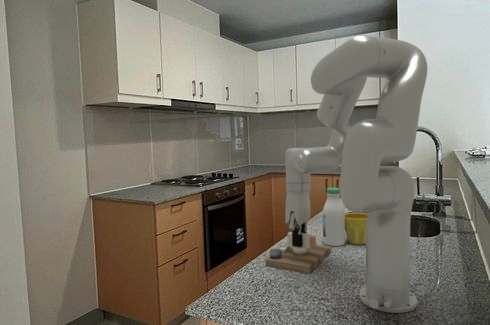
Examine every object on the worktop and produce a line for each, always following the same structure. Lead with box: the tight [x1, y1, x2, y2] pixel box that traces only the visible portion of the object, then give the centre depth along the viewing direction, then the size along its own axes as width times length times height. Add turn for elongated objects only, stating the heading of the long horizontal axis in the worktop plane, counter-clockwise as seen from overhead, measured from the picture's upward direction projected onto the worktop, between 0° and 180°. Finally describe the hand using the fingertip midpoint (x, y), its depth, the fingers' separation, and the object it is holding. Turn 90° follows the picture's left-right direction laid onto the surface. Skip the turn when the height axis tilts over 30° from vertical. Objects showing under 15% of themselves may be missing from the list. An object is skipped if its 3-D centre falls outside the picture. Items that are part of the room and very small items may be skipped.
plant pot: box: [345, 212, 369, 246], centre depth 127 cm, size 10×10×10 cm
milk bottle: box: [322, 187, 346, 247], centre depth 126 cm, size 8×8×20 cm
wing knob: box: [287, 231, 317, 255], centre depth 112 cm, size 9×4×6 cm, turn 67°
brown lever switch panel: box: [265, 243, 332, 274], centre depth 112 cm, size 20×14×4 cm
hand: (299, 244), depth 112 cm, fingers closed on wing knob, 3 cm apart
